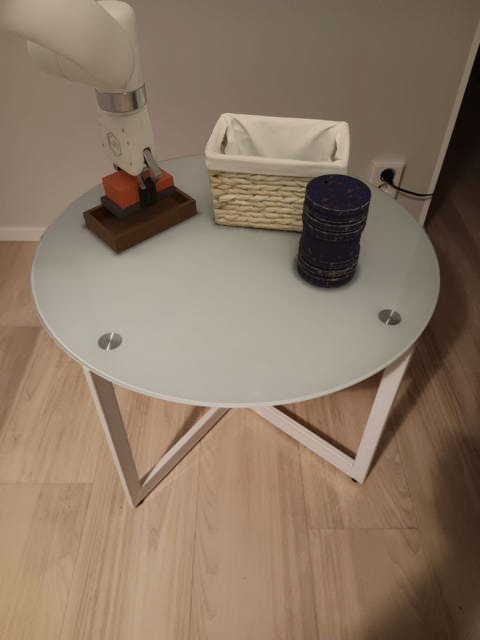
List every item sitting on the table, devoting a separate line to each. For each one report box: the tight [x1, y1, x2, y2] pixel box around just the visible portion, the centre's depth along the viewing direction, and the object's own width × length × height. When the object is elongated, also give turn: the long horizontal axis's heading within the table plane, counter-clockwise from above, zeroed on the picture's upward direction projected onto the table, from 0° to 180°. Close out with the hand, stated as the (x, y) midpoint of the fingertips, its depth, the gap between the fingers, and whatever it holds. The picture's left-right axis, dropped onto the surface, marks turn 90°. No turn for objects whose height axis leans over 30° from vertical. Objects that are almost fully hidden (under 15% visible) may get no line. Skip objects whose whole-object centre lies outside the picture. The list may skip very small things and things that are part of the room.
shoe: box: [99, 166, 176, 219], centre depth 90 cm, size 12×6×5 cm, turn 132°
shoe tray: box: [82, 185, 198, 254], centre depth 94 cm, size 18×11×3 cm, turn 132°
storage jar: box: [296, 174, 373, 289], centre depth 80 cm, size 10×10×15 cm
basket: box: [203, 112, 351, 233], centre depth 92 cm, size 24×16×15 cm
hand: (138, 195), depth 91 cm, fingers closed on shoe, 6 cm apart
